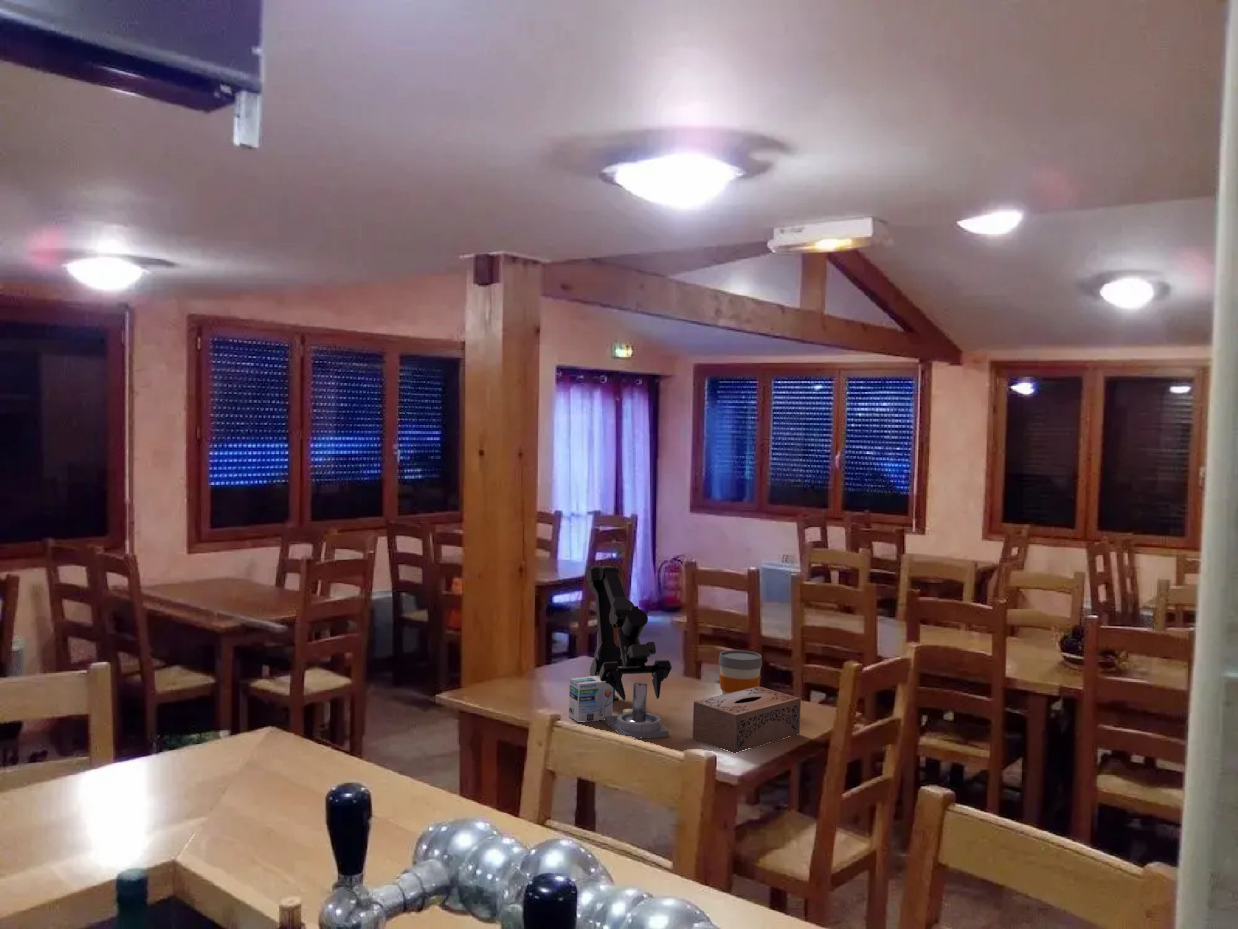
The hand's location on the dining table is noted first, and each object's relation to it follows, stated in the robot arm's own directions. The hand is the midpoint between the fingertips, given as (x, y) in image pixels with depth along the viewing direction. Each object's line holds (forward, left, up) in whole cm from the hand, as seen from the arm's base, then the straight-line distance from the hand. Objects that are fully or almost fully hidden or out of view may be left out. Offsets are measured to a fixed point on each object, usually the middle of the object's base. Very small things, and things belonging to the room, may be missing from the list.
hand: (641, 698), depth 263 cm
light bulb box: (-16, -8, -9) cm, 20 cm away
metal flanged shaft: (-2, 0, -8) cm, 8 cm away
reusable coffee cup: (-16, +37, -9) cm, 42 cm away
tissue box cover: (+10, +26, -10) cm, 29 cm away
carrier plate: (-3, 0, -9) cm, 10 cm away
